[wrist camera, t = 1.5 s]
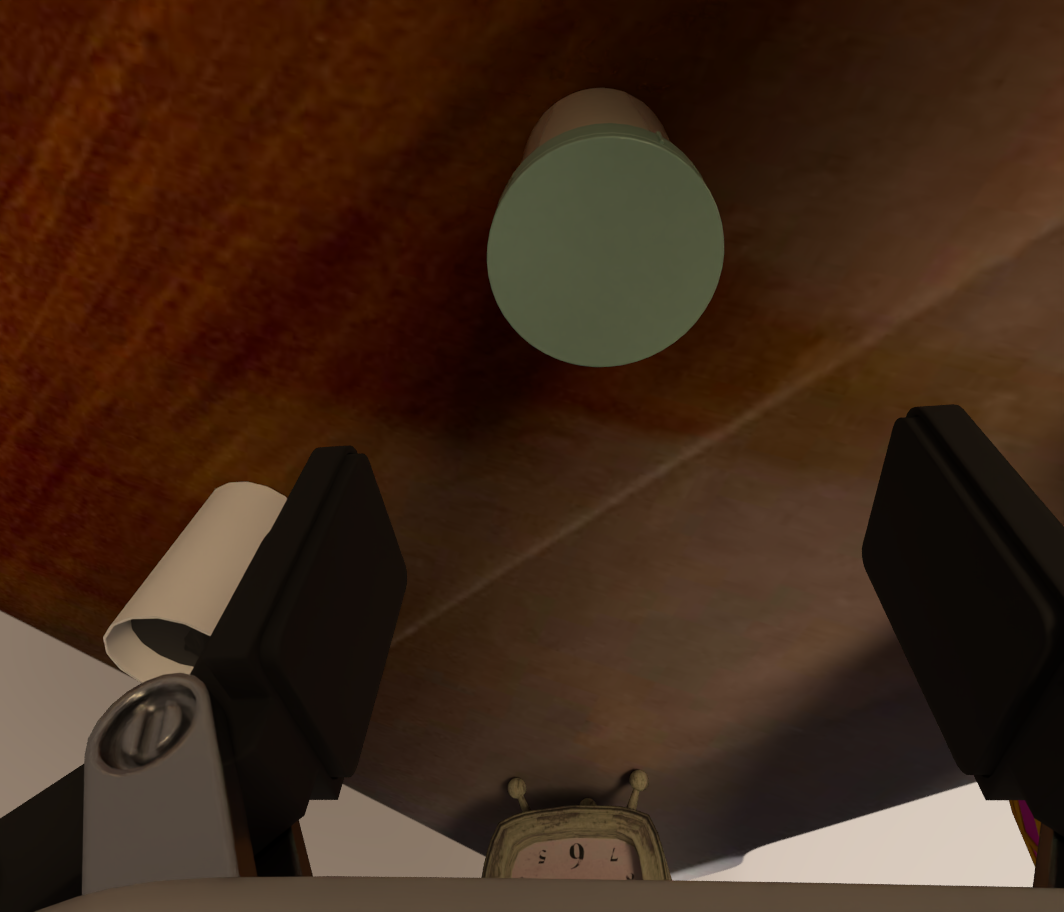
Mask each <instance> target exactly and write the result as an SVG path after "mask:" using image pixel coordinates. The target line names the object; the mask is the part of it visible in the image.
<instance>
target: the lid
mask: <svg viewBox="0 0 1064 912" xmlns="http://www.w3.org/2000/svg"><path fill="white" fill-rule="evenodd" d="M723 258H724V234H723V227H722V221H721V218H720V215H719V211H718V208H717V205H716V203H715V201H714V199H713V197H712V195H711V193H710V191H709V189H708V187H707V185H706V183H705V182H704V180H703V178H702V176H701V175H700V173H699V172H698V170H697V169H696V167H695V166H694V164H693V163H692V162H691V161H690V160H689V158H688V157H687V156H686V155H685V154H684V153H683V152H682V151H681V150H680V149H678V148H677V147H676V146H675V145H673V144H672V143H671V142H669V141H668V140H666V139H664V138H663V137H662V135H661V133H660V132H659V131H657V132H656V134H655V133H653V132H651V131H648V130H646V129H643V128H640V127H635V126H631V125H627V124H617V123H601V124H592V125H587V126H581V127H578V128H575V129H572V130H569V131H566V132H563V133H561V134H559V135H557V136H555V137H554V138H552V139H550V140H548V141H547V142H545V143H544V144H542V145H541V146H540V147H538V148H537V149H535V150H534V151H533V152H532V153H531V154H530V155H529V156H528V157H527V158H526V159H525V160H524V161H523V162H522V163H521V164H520V166H519V167H518V168H517V169H516V170H515V172H514V173H513V175H512V176H511V178H510V179H509V181H508V183H507V184H506V186H505V188H504V191H503V193H502V195H501V197H500V200H499V203H498V206H497V209H496V212H495V215H494V218H493V221H492V225H491V228H490V232H489V238H488V244H487V268H488V277H489V281H490V285H491V289H492V292H493V294H494V297H495V300H496V302H497V304H498V306H499V308H500V310H501V312H502V313H503V315H504V317H505V318H506V319H507V321H508V322H509V323H510V325H511V326H512V327H513V328H514V329H515V331H516V332H517V333H518V334H519V335H520V336H521V337H522V338H524V339H525V340H526V341H527V342H528V343H530V344H531V345H532V346H534V347H535V348H537V349H538V350H540V351H541V352H543V353H545V354H547V355H549V356H551V357H553V358H556V359H558V360H561V361H564V362H567V363H571V364H576V365H581V366H590V367H611V366H619V365H625V364H629V363H633V362H637V361H639V360H642V359H645V358H647V357H650V356H652V355H654V354H656V353H658V352H660V351H662V350H664V349H665V348H667V347H668V346H670V345H671V344H673V343H674V342H676V341H677V340H678V339H679V338H680V337H681V336H683V335H684V334H685V333H686V332H687V331H688V330H689V329H690V328H691V327H692V326H693V325H694V324H695V323H696V322H697V320H698V319H699V317H700V316H701V315H702V313H703V312H704V311H705V309H706V307H707V306H708V304H709V302H710V300H711V298H712V297H713V294H714V292H715V289H716V287H717V284H718V282H719V278H720V274H721V270H722V266H723Z"/></svg>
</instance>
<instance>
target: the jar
mask: <svg viewBox="0 0 1064 912" xmlns="http://www.w3.org/2000/svg"><path fill="white" fill-rule="evenodd" d="M601 123H617V124H627V125H631V126H635V127H640V128H643V129H646V130H648V131H651V132H653V133H655V134H656V132H657V131H659V132H660V133H661V135H662V137H663V138H664V139H666V140H668V141H669V142H671V141H670V139H669V137H668V135H667V133H666V131H665V129H664V127H663V125H662V123H661V122H660V120H659V119H658V117H657V116H656V115H655V113H654V112H653V111H652V110H651V109H650V108H649V107H648V106H647V105H646V104H644V103H643V102H642V101H641V100H639V99H637V98H636V97H634V96H632V95H630V94H628V93H625V92H623V91H619V90H615V89H609V88H591V89H586V90H581V91H578V92H576V93H573V94H570V95H568V96H567V97H565V98H563V99H561V100H560V101H558V102H557V103H555V104H554V105H553V106H552V107H550V108H549V109H548V110H547V111H546V112H545V113H544V114H543V116H542V117H541V118H540V119H539V121H538V122H537V124H536V125H535V127H534V128H533V130H532V132H531V134H530V136H529V138H528V141H527V144H526V147H525V150H524V154H523V157H522V161H521V163H522V162H523V161H524V160H525V159H526V158H527V157H528V156H529V155H530V154H531V153H532V152H533V151H534V150H535V149H537V148H538V147H540V146H541V145H542V144H544V143H545V142H547V141H548V140H550V139H552V138H554V137H555V136H557V135H559V134H561V133H563V132H566V131H569V130H572V129H575V128H578V127H581V126H587V125H592V124H601Z"/></svg>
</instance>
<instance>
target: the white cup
mask: <svg viewBox="0 0 1064 912" xmlns="http://www.w3.org/2000/svg"><path fill="white" fill-rule="evenodd" d="M286 500H287V498H286V497H285V496H284V495H282V494H280V493H278V492H276V491H275V490H273V489H271V488H269V487H267V486H263V485H259V484H255V483H251V482H231V483H227V484H225V485H223V486H221V487H219V488H217V489H215V490H214V492H213V493H212V494H211V496H210V497H209V498H208V499H207V501H206V502H205V503H204V505H203V506H202V507H201V509H200V510H199V511H198V512H197V514H196V515H195V516H194V518H193V519H192V520H191V522H190V523H189V524H188V525H187V527H186V528H185V529H184V531H183V532H182V533H181V535H180V536H179V537H178V538H177V540H176V541H175V542H174V544H173V545H172V546H171V548H170V549H169V550H168V551H167V553H166V554H165V555H164V557H163V558H162V559H161V560H160V562H159V563H158V564H157V566H156V567H155V568H154V570H153V571H152V572H151V573H150V575H149V576H148V577H147V579H146V580H145V581H144V583H143V584H142V585H141V586H140V588H139V589H138V590H137V592H136V593H135V594H134V596H133V597H132V598H131V599H130V601H129V602H128V603H127V605H126V606H125V607H124V609H123V610H122V611H121V612H120V614H119V615H118V616H117V618H116V619H115V620H114V622H113V623H112V624H111V626H110V627H109V629H108V630H107V632H106V633H105V635H104V637H103V639H104V644H105V649H106V653H107V654H108V656H109V657H110V658H111V659H112V660H113V662H114V663H115V664H116V665H117V666H118V668H119V669H121V670H122V671H124V672H125V673H127V674H128V675H130V676H131V677H133V678H134V679H136V680H137V681H139V682H140V683H143V682H145V681H147V680H150V679H153V678H155V677H158V676H161V675H164V674H173V673H185V674H190V673H191V671H192V669H193V667H194V665H195V664H196V662H197V660H198V658H199V656H200V654H201V653H202V651H203V649H204V647H205V645H206V643H207V642H208V640H209V638H210V636H211V634H212V632H213V630H214V629H215V627H216V625H217V623H218V621H219V619H220V618H221V616H222V614H223V612H224V610H225V608H226V606H227V605H228V603H229V601H230V599H231V597H232V595H233V594H234V592H235V590H236V588H237V586H238V584H239V582H240V581H241V579H242V577H243V575H244V573H245V571H246V570H247V568H248V566H249V564H250V562H251V560H252V559H253V557H254V555H255V553H256V551H257V549H258V547H259V546H260V544H261V542H262V540H263V539H264V537H265V536H266V535H267V533H269V532H270V530H271V528H272V526H273V524H274V523H275V521H276V519H277V517H278V515H279V513H280V511H281V510H282V508H283V506H284V504H285V502H286Z"/></svg>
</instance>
